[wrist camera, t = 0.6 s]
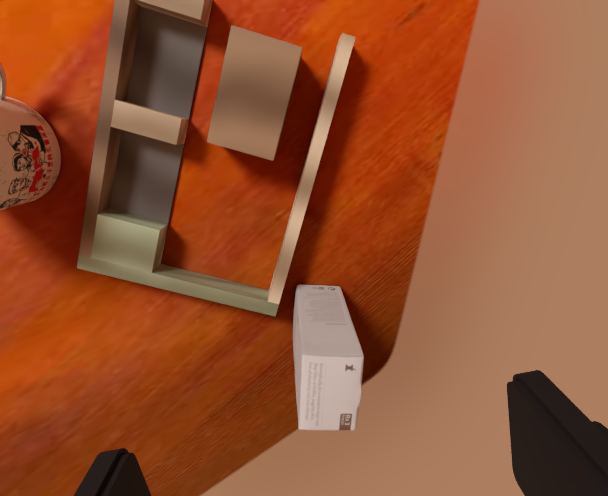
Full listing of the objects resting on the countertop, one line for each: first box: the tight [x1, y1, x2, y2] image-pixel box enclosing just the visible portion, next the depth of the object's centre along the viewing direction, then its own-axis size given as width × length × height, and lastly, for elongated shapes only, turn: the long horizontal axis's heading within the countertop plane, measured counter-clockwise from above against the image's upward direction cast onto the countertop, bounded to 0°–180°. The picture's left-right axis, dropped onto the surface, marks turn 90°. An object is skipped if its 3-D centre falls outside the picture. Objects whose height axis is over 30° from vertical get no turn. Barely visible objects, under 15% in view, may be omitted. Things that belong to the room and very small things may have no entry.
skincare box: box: [293, 285, 364, 430], centre depth 33 cm, size 6×4×12 cm
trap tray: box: [77, 0, 356, 316], centre depth 34 cm, size 23×17×2 cm
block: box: [207, 25, 302, 161], centre depth 32 cm, size 8×5×4 cm, turn 164°
